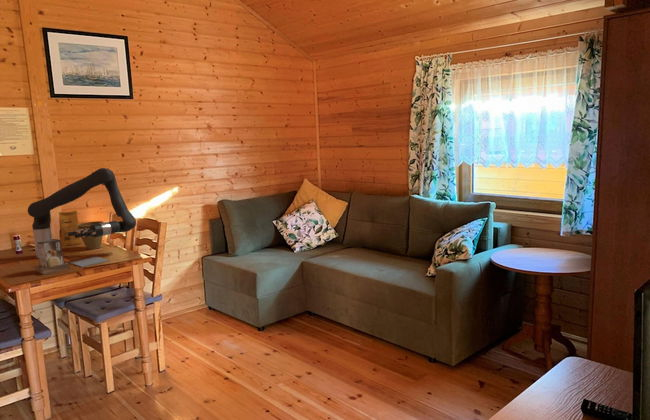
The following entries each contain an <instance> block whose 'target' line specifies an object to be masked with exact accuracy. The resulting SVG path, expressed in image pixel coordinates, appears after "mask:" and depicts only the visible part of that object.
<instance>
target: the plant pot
mask: <svg viewBox="0 0 650 420" xmlns="http://www.w3.org/2000/svg"><path fill="white" fill-rule="evenodd" d="M103 222H104V221H101V220H98V221H97V220H96V221H87V222H83V223H79V224H78V225H77V226H78V229H84V228H88V229H89V228H90V226H91V225H92V224H97V223H103ZM103 238H104V236H100V237H95V238H94V237H92V236H89V237H81V241H83V243H84V246H85V247H86V249H87V250H91V251H92V250H98V249H100V248H101V246H102V243H103Z"/></svg>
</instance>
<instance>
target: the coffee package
mask: <svg viewBox="0 0 650 420" xmlns="http://www.w3.org/2000/svg"><path fill="white" fill-rule="evenodd" d="M78 214H79V213H78V210H77V209H76V210H71V211H58V215H59V217H58V218H59V221H58V222H59V234H58V235H59V236H58V237H59V240H60V241H61V247H66V246H77V245H79V244H82V237H79V238H75V237H74V236H68V232H73V231H74V230H79V229H78V226H77V225H78V224H80V223H79V219H78ZM77 233H79V232H77Z"/></svg>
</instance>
